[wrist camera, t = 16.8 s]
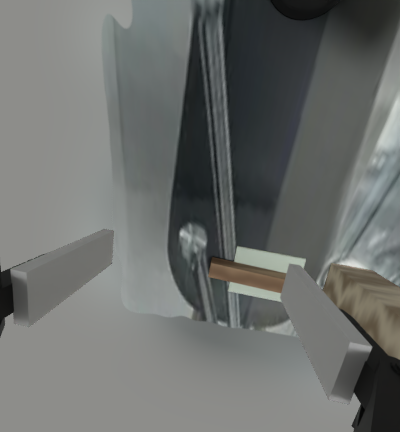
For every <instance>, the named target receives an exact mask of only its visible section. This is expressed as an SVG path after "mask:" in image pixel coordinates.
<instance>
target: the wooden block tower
mask: <svg viewBox="0 0 400 432" xmlns="http://www.w3.org/2000/svg"><path fill="white" fill-rule="evenodd" d="M323 292H324V293H325V294H326V295H327V296H328V297H329V298H330V299H331V301H332V302H333V303H334V304H335V305H336V306H337V307H338V308H339V309H342V310H344V311H345V312H347V313H348V314H349V315H351V316H352V317H353V318H354V319H355V320H356V321H357V322H358V323H359V324H360V326H361V327H362V328H363V329H364V330H365V331H366V333H368V334H369V335H370V336H371V337H372V338H373V339H374V341H375V342H376V343H377V344H378V345H379V346H380V347H381V348H382V349H383V350H384V351H385V352H386V353H387V354H388V356H392V357H395V358H397V359H400V287H398V286H397V285H395V284H393V283H392V282H390V281H389V280H387V279H385V278H384V277H382V276H380V275H379V274H377V273H376V272H374V271H372V270H366V269H361V268H356V267H350V266H345V265H339V264H334V263H331V266H330V270H329V273H328V276H327V279H326V282H325V285H324V288H323Z"/></svg>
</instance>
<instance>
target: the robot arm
mask: <svg viewBox="0 0 400 432" xmlns="http://www.w3.org/2000/svg"><path fill="white" fill-rule="evenodd" d="M338 1H339V0H272V2H273V4H274V5H275V7H276V8H277V9H278V10H279V11H280V12H281V13H282V14H284V15H286V16H288V17H290V18H293V19H299V20H306V19H311V18H315V17H318V16H320V15H322V14H324V13H325V12H327V11H328V10H330V9H331V8H332V7H333V6H335V5H336V4H337V3H338ZM113 236H114V231H113V230H107V229H103V230H101V231H98V232H96V233H94V234H92V235H89V236H87V237H84V238H82V239H80V240H78V241H75V242H73V243H70V244H68V245H66V246H63V247H61V248H59V249H56V250H54V251H52V252H49V253H47V254H43V255H41V256H38V257H36V258H34V259H31V260H29V261H27V262H24V263H22V264H19V265H17V266H14V267H12V268H10V269H7V270H5V271H3V272H1V267H0V336H1V333H2V331H3V328H4V326H5V317H7V316H8V315H10V314H11V313H13V315H14V323H15V324H18V325H23V326H27V327H30V326H31V325H33V324H34V323H35V322H36V321H38V320H39V319H40V318H42V317H43V316H44V315H46V314H47V313H48V312H50V311H51V310H52V309H53V308H55V307H56V306H57V305H59V304H60V303H61V302H63V301H64V300H65V299H66V298H68V297H69V296H70V295H72V294H73V293H74V292H75V291H77V290H78V289H80V288H81V287H82V286H83V285H85V284H86V283H87V282H89V281H90V280H91V279H93V278H94V277H95V276H96V275H98V274H99V273H100V272H102V271H103V270H104V269H106V268H107V267H108V266H109V265H111V264H112V253H113ZM280 299H281V301H282V303H283V305H284V307H285V309H286V311H287V313H288V315H289V318H290V320H291V322H292V324H293V326H294V328H295V330H296V332H297V334H298V336H299V339H300V341H301V343H302V345H303V347H304V349H305V351H306V353H307V355H308V358H309V360H310V362H311V364H312V366H313V368H314V370H315V372H316V374H317V376H318V379H319V380H320V383H321V385H322V387H323V389H324V391H325V393H326V395H327V397H328V399H329V400H332V401H336V402H340V403H344V404H349V403H350V401H351V398H352V395H353V393H355V395H356V396H357V398H358V400H359V401H360V403H361V405H360V408H359V410H358V412H357V415H356V417H355V419H354V422H353V424H352V427H353V428H354V432H400V359H397V358H395V357H392V356H388V354H387V353H386V352H385V351H384V350H383V349H382V348H381V347H380V346H379V345H378V344H377V343H376V342H375V341H374V339H373V338H372V337H371V336H370V335H369V334H368V333H366V331H365V330H364V329H363V328H362V327H361V326H360V324H359V323H358V322H357V321H356V320H355V319H354V318H353V317H352V316H351V315H349V314H348V313H347V312H345V311H344V310H342V309H339V308H338V307H337V306H336V305H335V304H334V303H333V302H332V301H331V299H330V298H329V297H328V296H327V295H326V294H325V293H324V292H323V290H322V289H321V288H320V287H319V286H318V285H317V284H316V282H315V281H314V280H313V279H312V278H311V277H310V276H309V275H308V273H307V272H306V271H305V270H304V269H303V268H302V267H301V266H300V265H295V264H290V263H289V266H288V270H287V274H286V277H285V281H284V285H283V288H282V292H281V296H280Z"/></svg>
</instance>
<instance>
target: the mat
mask: <svg viewBox="0 0 400 432" xmlns="http://www.w3.org/2000/svg"><path fill="white" fill-rule="evenodd" d="M305 261H306V259H305V258H301V257H295V256H290V255H284V254H279V253H273V252H268V251H262V250H257V249H251V248H246V247H240V246H237V248H236V253H235V258H234V262H237V263H242V264H246V265H251V266H255V267H260V268H265V269H269V270H274V271H278V272H283V273H287V270H288V266H289V263H290V264H295V265H300V266H301V267H302V268H304V265H305ZM228 291H230V292H235V293H240V294H245V295H250V296H255V297H260V298H265V299H270V300H275V301H279V302H282V301H281V299H280V296H281V293H277V292H272V291H268V290H264V289H259V288H255V287H251V286H246V285H242V284H238V283H233V282H230V283H229V288H228Z"/></svg>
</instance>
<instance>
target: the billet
mask: <svg viewBox="0 0 400 432" xmlns="http://www.w3.org/2000/svg"><path fill="white" fill-rule="evenodd" d="M286 274H287V273H283V272H278V271H274V270H269V269H265V268H260V267H255V266H251V265H246V264H242V263H237V262H233V261H228V260H224V259H219V258H215V257H212V260H211V265H210V269H209V276H208V277H211V278H216V279H220V280H224V281H229V282H233V283H238V284H242V285H246V286H251V287H255V288H259V289H264V290H268V291H272V292H277V293H281V292H282V288H283V285H284V281H285V277H286Z"/></svg>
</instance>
